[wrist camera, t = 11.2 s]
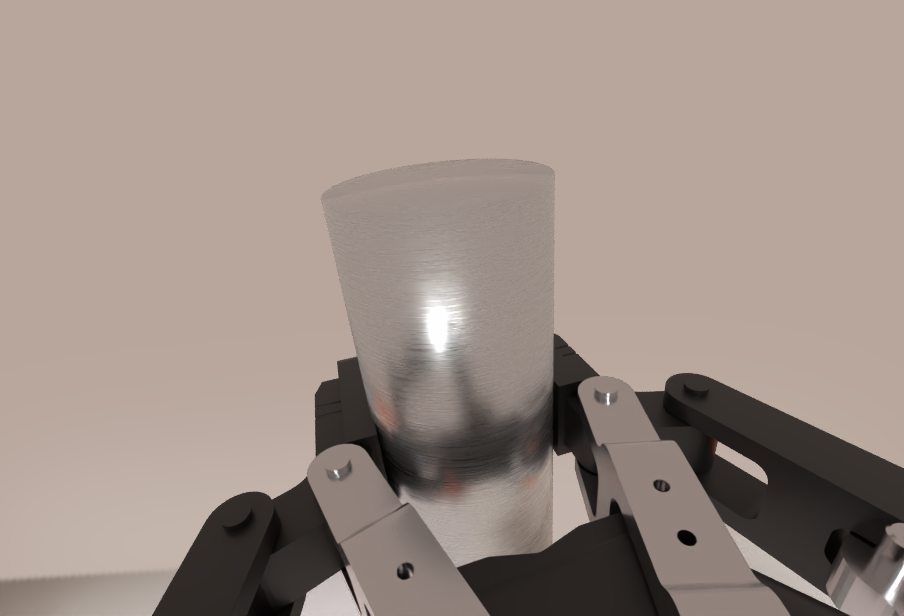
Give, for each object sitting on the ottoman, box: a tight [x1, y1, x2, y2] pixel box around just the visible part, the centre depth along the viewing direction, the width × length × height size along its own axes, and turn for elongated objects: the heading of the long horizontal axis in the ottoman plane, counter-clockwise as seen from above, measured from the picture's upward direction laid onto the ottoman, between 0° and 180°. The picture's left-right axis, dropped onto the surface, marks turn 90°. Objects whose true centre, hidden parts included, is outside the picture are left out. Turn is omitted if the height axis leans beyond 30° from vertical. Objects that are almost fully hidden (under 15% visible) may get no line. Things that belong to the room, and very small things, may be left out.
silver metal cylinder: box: [321, 159, 555, 567], centre depth 12 cm, size 4×4×14 cm
